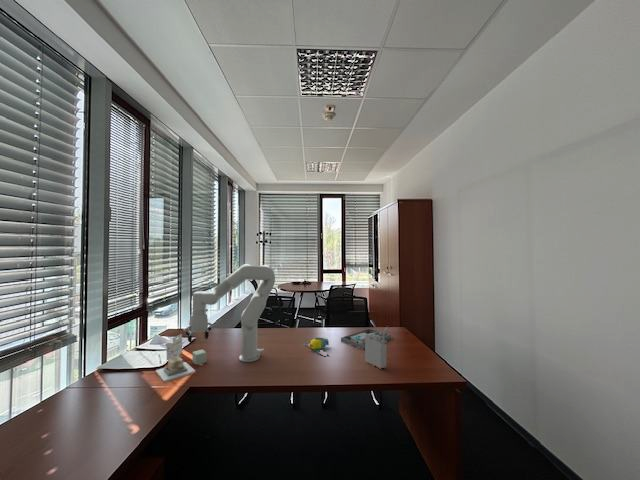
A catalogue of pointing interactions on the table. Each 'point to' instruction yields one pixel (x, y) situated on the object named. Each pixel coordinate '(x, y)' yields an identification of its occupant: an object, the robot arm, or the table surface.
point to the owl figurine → (317, 344)
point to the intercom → (361, 337)
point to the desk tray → (346, 338)
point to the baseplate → (168, 376)
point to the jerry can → (375, 349)
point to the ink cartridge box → (174, 347)
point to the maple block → (175, 364)
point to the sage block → (199, 356)
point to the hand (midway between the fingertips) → (198, 340)
